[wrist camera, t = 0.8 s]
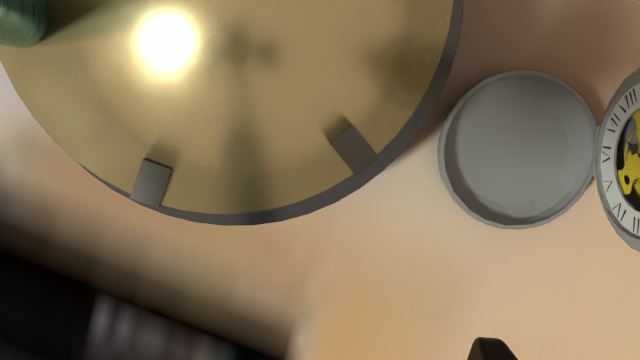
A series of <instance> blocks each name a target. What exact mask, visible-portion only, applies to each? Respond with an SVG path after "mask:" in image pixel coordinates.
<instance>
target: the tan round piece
mask: <svg viewBox="0 0 640 360" xmlns="http://www.w3.org/2000/svg"><path fill="white" fill-rule="evenodd" d="M452 7H453V0H0V60H1V63H2V65H3V67H4V69H5V71H6V73H7V75H8V76H9V78H10V80H11V82H12V84H13V86H14V88H15V90H16V92H17V93H18V95H19V96H20V98H21V99H22V101H23V102H24V104H25V105H26V107H27V108H28V110H29V111H30V113H31V114H32V116H33V117H34V118H35V119H36V121H37V122H38V123H39V124H40V125H41V126H42V128H43V129H44V130H45V131H46V132H47V133H48V135H49V136H50V137H51V138H52V139H53V140H54V141H55V142H56V143H57V144H58V145H59V146H60V147H61V148H63V149H64V150H65V151H66V152H67V153H68V154H69V155H70V156H71V157H72V158H74V159H75V160H76V161H77V162H78V163H80V164H81V165H83V166H84V167H85V168H87V169H88V170H90V171H91V172H93V173H94V174H95V175H97V176H98V177H100V178H101V179H103V180H105V181H107V182H109V183H110V184H112V185H114V186H116V187H118V188H120V189H122V190H123V191H125V192H127V193H130V194H131V195H130V199H133V200H136V201H139V202H141V203H144V204H147V205H150V206H153V207H155V208H160V207H161V206H163V205H164V206H168V207H172V208H176V209H180V210H184V211H193V212H201V213H210V214H242V213H249V212H257V211H264V210H271V209H274V208H278V207H282V206H285V205H289V204H293V203H296V202H299V201H302V200H304V199H306V198H309V197H311V196H314V195H316V194H318V193H321V192H323V191H325V190H327V189H329V188H331V187H332V186H334V185H336V184H337V183H339V182H341V181H343V180H344V179H346V178H348V177H350V176H351V175H352V174H355V176H358V175H359V174H360V173H361V172H363V171H364V170H365V169H366V168H368V167H369V166H370V165H371V164H373V163H374V162H375V161H376V160H378V159H379V158H380V157H379V156H378V155H377V154H378V153H379V152H380V151H381V150H382V149H383V148H384V147H385V146H386V145H387V144H388V143H389V142H390V141H391V140H392V139H393V138H394V137H395V136H396V135H397V133H398V132H399V131H400V130H401V128H402V127H403V126H404V124H405V123H406V122H407V120H408V119H409V118H410V117H411V115H412V114H413V112H414V111H415V109H416V107H417V106H418V104H419V102H420V101H421V99H422V97H423V95H424V94H425V92H426V90H427V89H428V87H429V85H430V82H431V80H432V78H433V75H434V73H435V71H436V68H437V66H438V64H439V61H440V59H441V55H442V52H443V48H444V45H445V41H446V38H447V34H448V31H449V26H450V20H451V13H452Z"/></svg>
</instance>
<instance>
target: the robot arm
mask: <svg viewBox="0 0 640 360" xmlns="http://www.w3.org/2000/svg"><path fill="white" fill-rule="evenodd" d="M467 360H518V359H517V358H516V357H515V355H514V354H513V353H512V351H511V350H510V349H509V348H508V346H507V345H506V344H505V343H504V342H503V341H502V340H500V339H497V338H484V337H478V338H476V339H475V340H474V342H473V345H472V347H471V350H470V353H469V356H468V359H467Z"/></svg>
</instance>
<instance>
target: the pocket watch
mask: <svg viewBox="0 0 640 360" xmlns="http://www.w3.org/2000/svg"><path fill="white" fill-rule="evenodd" d="M438 162H439V170H440V174H441V179H442V181H443V183H444V184H445V187H446V189H447V190H448V192H449V193H450V195H451V197H452V199H453V200H454V202H455V203H456V204H457V205H459V206H460V207H461V208H462V209H463V210H464V211H465V212H466V213H467V214H468V215H470V216H471V217H473V218H474V219H476V220H478V221H480V222H482V223H485V224H487V225H490V226H494V227H497V228H501V229H519V230H520V229H526V228H532V227H537V226H540V225H543V224H546V223H549V222H550V221H552V220H554V219H555V218H557V217H559V216H560V215H562V214H564V213H566V212H567V211H568V210H569V209H570V208H571V207H572V206H573V205H574V204H575V203H576V202H577V201H578V200H579V199H580V198H581V196H582V195H583V193H584V191H585V190H586V188H587V187H588V185H589V183H590V181H591V179H592V177H596V180H597V188H598V193H599V196H600V199H601V202H602V205H603V208H604V211H605V213H606V215H607V218H608V220H609V222H610V223H611V225H612V226H613V228H614V230H615V231H616V233H617V234H618V235H619V236H620V237H621V238H622V239H623V240H624V241H625V242H626V243H627V244H628V245H629V246H630V247H631V248H632V249H635V250H637V251H639V252H640V69H638V70H637V71H636V72H634V73H633V74H632V75H630V76H629V77H627V78H626V79H625V80H624V81H623V83H622V84H621V85H620V87H619V88H618V90H617V91H616V93H615V94H614V96H613V97H612V98H611V100H610V102H609V104H608V106H607V108H606V110H605V113H604V116H603V119H602V122H601V125H597V126H596V121H595V118H594V116H593V115H592V113H591V111H590V109H589V107H588V105H587V103H586V101H585V100H584V99H583V97H582V96H581V95H580V94H579V93H578V92H577V91H576V90H575V89H574V88H572V87H571V86H570V85H569V84H567V83H566V82H565V81H563V80H561V79H559V78H556V77H554V76H552V75H550V74H548V73H544V72H538V71H532V70H513V71H509V72H505V73H500V74H497V75H494V76H490V77H487V78H485V79H483V80H482V81H480V82H479V83H478V84H476V85H475V86H473V87H472V88H471V89H469V90H468V91H467V92H465V93H464V94H463V95H462V96H461V97H459V99H458V100H457V102H456V103H455V105H454V106H453V107H452V109H451V110H450V112H449V114H448V116H447V118H446V120H445V121H444V123H443V125H442V130H441V134H440V137H439V144H438Z"/></svg>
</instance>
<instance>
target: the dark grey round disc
mask: <svg viewBox="0 0 640 360" xmlns="http://www.w3.org/2000/svg"><path fill="white" fill-rule="evenodd" d="M462 15H463V0H453V7H452V13H451V20H450V26H449V31H448V34H447V38H446V41H445V45H444V48H443V52H442V55H441V59H440V61H439V64H438V66H437V68H436V71H435V73H434V75H433V78H432V80H431V82H430V85H429V87H428V89H427V90H426V92H425V94H424V95H423V97H422V99H421V101H420V102H419V104H418V106H417V107H416V109H415V111H414V112H413V114H412V115H411V117H410V118H409V119H408V120H407V122H406V123H405V124H404V126H403V127H402V128H401V130H400V131H399V132H398V133H397V135H396V136H395V137H394V138H393V139H392V140H391V141H390V142H389V143H388V144H387V145H386V146H385V147H384V148H383V149H382V150H381V151H380V152H379V153H378V154H377V155H378V156H379V157H380V158H379V159H378V160H376V161H375V162H374V163H373V164H371V165H370V166H369V167H368V168H366V169H365V170H364V171H363V172H361V173H360V174H359V175H358V176H355V174H352V175H351V176H350V177H348V178H346V179H344V180H343V181H341V182H339V183H337V184H336V185H334V186H332V187H331V188H329V189H327V190H325V191H323V192H321V193H318V194H316V195H314V196H311V197H309V198H306V199H304V200H302V201H299V202H296V203H293V204H289V205H285V206H282V207H278V208H274V209H271V210H264V211H257V212H249V213H242V214H210V213H201V212H193V211H184V210H180V209H176V208H172V207H168V206H164V205H163V206H161V207H160V208H155V207H153V206H150V205H147V204H144V203H141V202H139V201H136V200H133V199H131V200H132V201H134V202H136V203H138V204H140V205H142V206H145V207H148V208H150V209H153V210H155V211H158V212H161V213H163V214H166V215H169V216H173V217H177V218H181V219H185V220H189V221H193V222H199V223H208V224H216V225H257V224H264V223H272V222H279V221H284V220H287V219H291V218H295V217H298V216H302V215H306V214H309V213H311V212H314V211H316V210H319V209H321V208H323V207H326V206H328V205H331V204H333V203H335V202H337V201H339V200H341V199H342V198H344V197H346V196H347V195H349V194H351V193H353V192H354V191H356V190H358V189H360V188H361V187H362V186H364V185H365V184H366V183H367V182H369V181H370V180H371V179H373V178H374V177H375V176H377V175H378V174H379V173H381V172H382V171H383V170H384V169H385V168H386V167H387V166H388V165H389V164H390V163H391V162H392V161H393V160H394V159H395V158H396V157H397V156H398V155H399V154H400V153H401V152H402V151H403V150H404V149H405V148H406V147H407V145H408V144H409V143H410V141H411V140H412V139H413V138H414V136H415V135H416V134H417V132H418V131H419V130H420V129H421V127H422V126H423V124H424V122H425V121H426V119H427V117H428V116H429V114H430V112H431V111H432V109H433V107H434V106H435V104H436V102H437V100H438V98H439V96H440V94H441V91H442V89H443V87H444V84H445V82H446V80H447V77H448V75H449V73H450V69H451V66H452V62H453V59H454V55H455V52H456V48H457V45H458V40H459V34H460V27H461V21H462ZM73 159H74V158H73ZM74 160H75V159H74ZM75 161H76V160H75ZM79 164H80V163H79ZM80 165H81V164H80ZM81 166H82V167H83V168H84V169H85V170H86V171H88V172H89V173H90V174H91V175H93V176H94V177H95V178H97V179H98V180H100V181H101V182H103V183H104V184H105V185H107V186H108V187H110V188H111V189H112V190H114V191H116V192H118V193H119V194H121V195H123V196H125V197H127V198H129V199H130V195H131V194H130V193H127V192H125V191H123V190H122V189H120V188H118V187H116V186H114V185H112V184H110V183H109V182H107V181H105V180H103V179H101V178H100V177H98V176H97V175H95V174H94V173H93V172H91V171H90V170H88V169H87V168H85V167H84V166H83V165H81Z"/></svg>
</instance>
